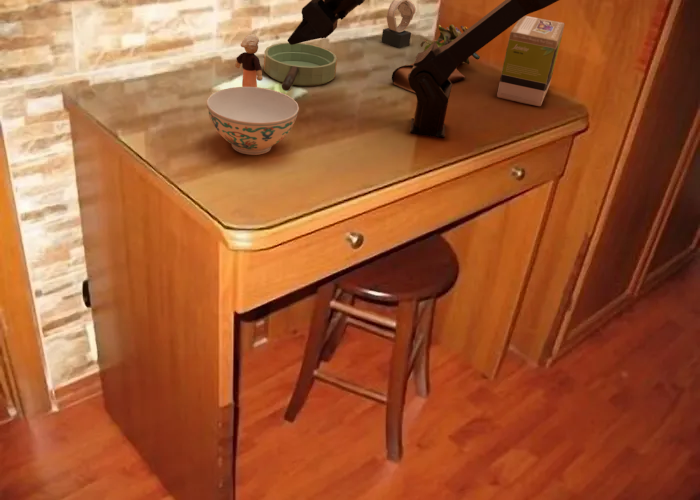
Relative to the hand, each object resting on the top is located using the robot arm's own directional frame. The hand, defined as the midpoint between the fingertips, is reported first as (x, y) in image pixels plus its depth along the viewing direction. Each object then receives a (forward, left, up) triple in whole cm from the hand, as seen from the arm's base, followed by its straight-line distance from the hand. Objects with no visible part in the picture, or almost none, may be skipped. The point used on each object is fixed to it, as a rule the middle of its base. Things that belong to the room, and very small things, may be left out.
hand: (295, 35), depth 135 cm
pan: (+17, +1, -14) cm, 22 cm away
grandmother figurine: (-1, +8, -14) cm, 16 cm away
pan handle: (+5, +1, -11) cm, 12 cm away
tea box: (+26, -48, -14) cm, 56 cm away
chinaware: (-21, +3, -14) cm, 25 cm away
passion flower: (+37, -31, -14) cm, 50 cm away
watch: (+48, -18, -14) cm, 53 cm away
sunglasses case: (+24, -27, -14) cm, 39 cm away
